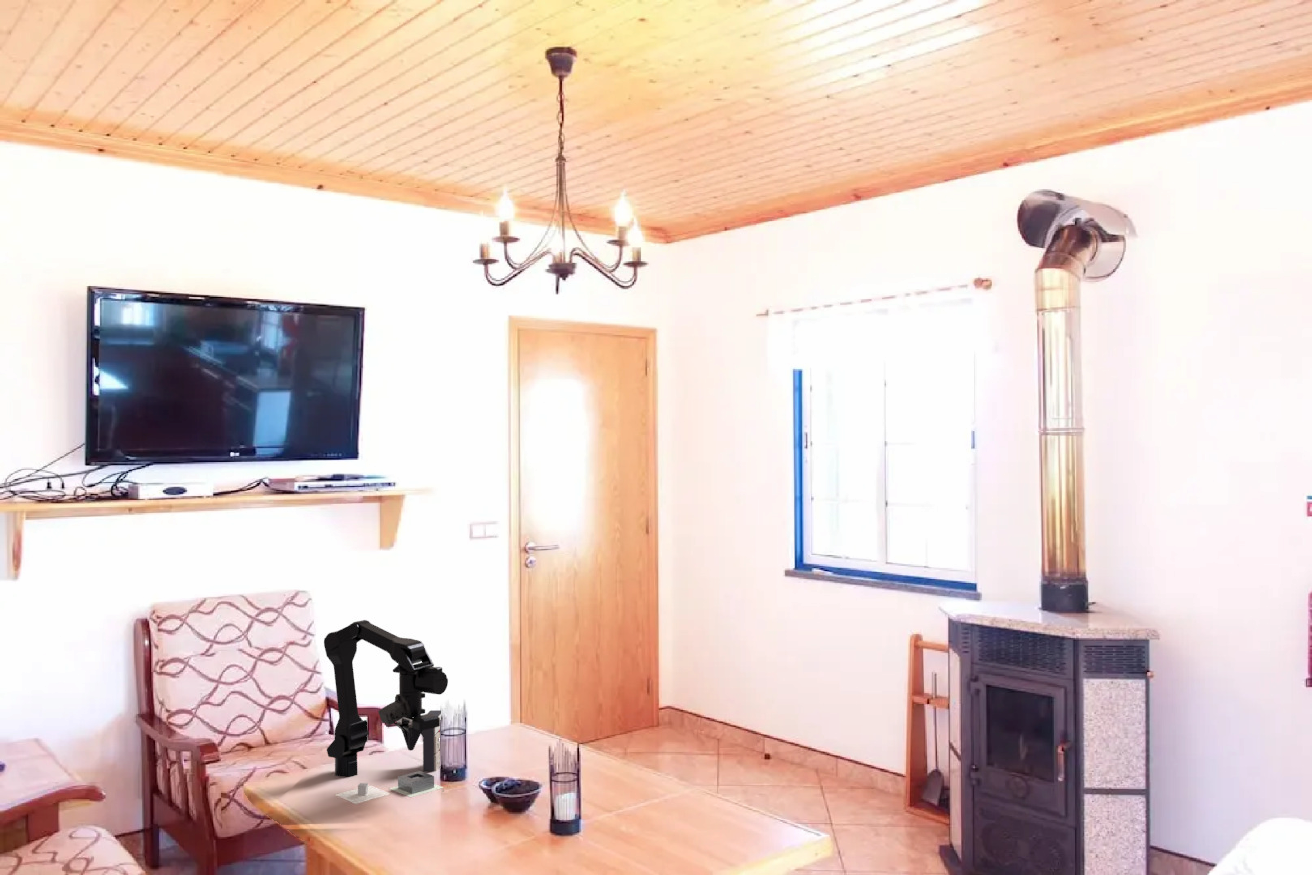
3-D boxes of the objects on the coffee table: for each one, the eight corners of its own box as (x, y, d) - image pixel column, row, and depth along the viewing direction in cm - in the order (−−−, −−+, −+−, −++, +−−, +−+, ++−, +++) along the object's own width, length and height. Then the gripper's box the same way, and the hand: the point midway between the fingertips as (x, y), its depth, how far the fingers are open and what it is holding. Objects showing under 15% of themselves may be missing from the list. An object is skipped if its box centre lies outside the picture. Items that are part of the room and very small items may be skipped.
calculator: (436, 775, 277) (436, 720, 277) (420, 775, 277) (420, 720, 277) (445, 762, 288) (445, 709, 288) (430, 762, 288) (430, 709, 288)
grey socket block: (398, 788, 263) (397, 776, 263) (419, 782, 268) (419, 770, 268) (412, 793, 258) (412, 782, 258) (434, 787, 263) (434, 775, 263)
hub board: (389, 792, 263) (389, 778, 263) (422, 782, 270) (422, 769, 270) (410, 801, 256) (410, 787, 256) (443, 791, 263) (443, 777, 263)
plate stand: (334, 798, 258) (334, 784, 258) (369, 788, 265) (369, 775, 266) (355, 807, 251) (355, 793, 251) (390, 797, 259) (390, 783, 259)
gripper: (364, 689, 266) (364, 749, 265) (403, 701, 253) (403, 764, 253) (401, 682, 274) (401, 740, 274) (441, 693, 261) (441, 754, 261)
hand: (410, 749), depth 265 cm, fingers closed
